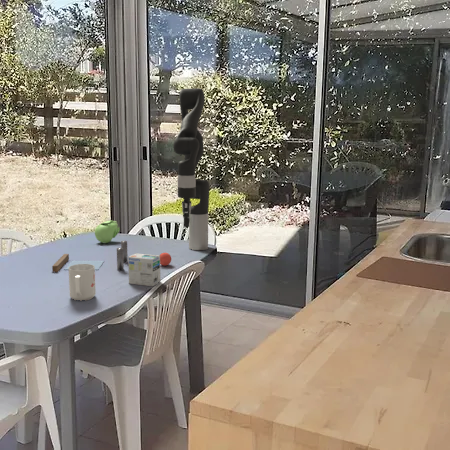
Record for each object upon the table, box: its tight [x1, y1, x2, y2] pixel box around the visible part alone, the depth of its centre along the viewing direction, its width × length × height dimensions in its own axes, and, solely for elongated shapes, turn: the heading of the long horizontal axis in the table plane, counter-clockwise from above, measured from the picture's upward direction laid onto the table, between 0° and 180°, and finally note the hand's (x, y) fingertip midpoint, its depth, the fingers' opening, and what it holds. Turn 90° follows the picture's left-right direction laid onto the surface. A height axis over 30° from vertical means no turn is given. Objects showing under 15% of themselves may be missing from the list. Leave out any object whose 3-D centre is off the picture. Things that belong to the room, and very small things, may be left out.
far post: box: [120, 240, 129, 263], centre depth 249 cm, size 3×3×9 cm
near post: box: [116, 247, 125, 271], centre depth 237 cm, size 3×3×9 cm
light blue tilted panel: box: [63, 260, 105, 271], centre depth 243 cm, size 14×14×1 cm
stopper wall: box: [51, 253, 70, 273], centre depth 243 cm, size 2×20×2 cm, turn 2°
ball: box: [159, 252, 172, 267], centre depth 244 cm, size 6×6×6 cm
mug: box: [68, 264, 97, 302], centre depth 199 cm, size 12×9×11 cm
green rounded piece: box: [94, 219, 120, 244], centre depth 284 cm, size 12×11×11 cm
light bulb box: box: [127, 252, 162, 287], centre depth 219 cm, size 11×7×11 cm, turn 71°
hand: (186, 224), depth 241 cm, fingers open, 6 cm apart
